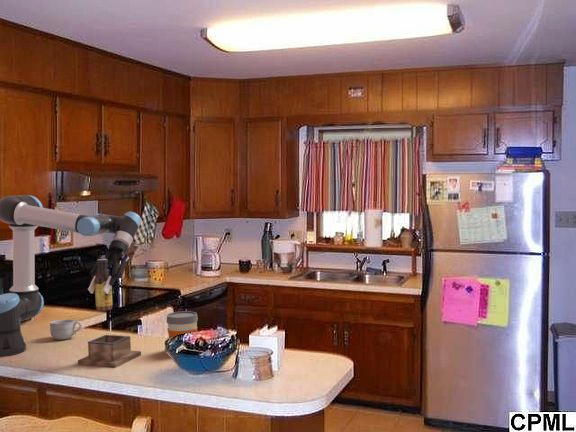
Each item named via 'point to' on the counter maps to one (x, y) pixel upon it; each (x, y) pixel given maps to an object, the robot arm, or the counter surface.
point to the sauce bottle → (100, 280)
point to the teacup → (64, 328)
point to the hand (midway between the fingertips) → (97, 291)
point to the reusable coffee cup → (181, 322)
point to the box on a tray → (109, 351)
